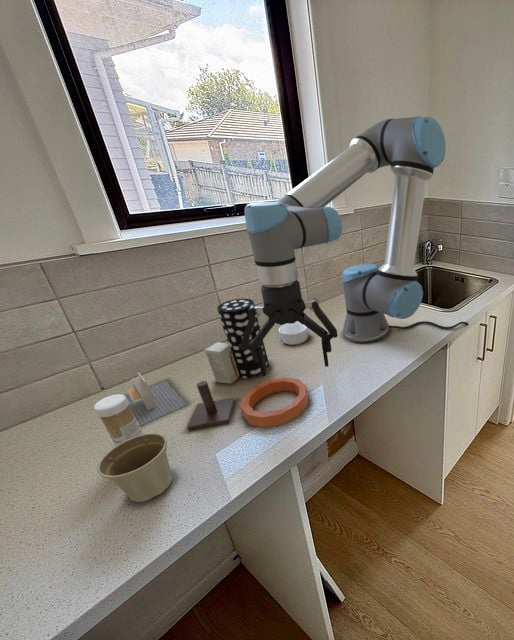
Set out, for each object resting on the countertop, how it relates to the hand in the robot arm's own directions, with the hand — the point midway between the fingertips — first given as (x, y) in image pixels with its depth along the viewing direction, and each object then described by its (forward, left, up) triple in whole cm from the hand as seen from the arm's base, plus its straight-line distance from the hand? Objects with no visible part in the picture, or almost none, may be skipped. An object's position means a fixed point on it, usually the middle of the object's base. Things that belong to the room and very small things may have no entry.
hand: (296, 368), depth 78 cm
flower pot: (+26, +17, -10) cm, 33 cm away
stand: (+20, -1, -10) cm, 22 cm away
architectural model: (+36, -10, -10) cm, 39 cm away
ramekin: (+3, -33, -10) cm, 35 cm away
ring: (+6, 0, -10) cm, 11 cm away
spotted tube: (+14, -18, -10) cm, 25 cm away
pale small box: (+19, -16, -10) cm, 27 cm away
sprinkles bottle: (+32, +7, -10) cm, 34 cm away
